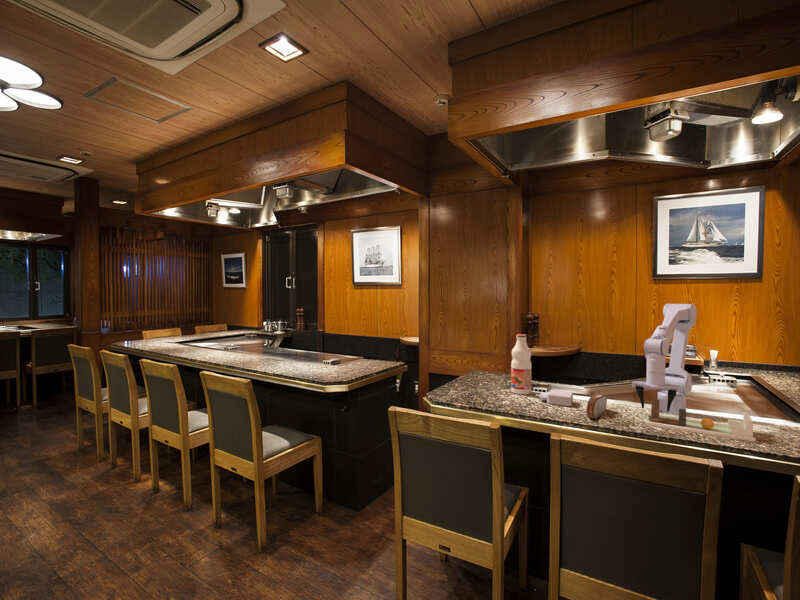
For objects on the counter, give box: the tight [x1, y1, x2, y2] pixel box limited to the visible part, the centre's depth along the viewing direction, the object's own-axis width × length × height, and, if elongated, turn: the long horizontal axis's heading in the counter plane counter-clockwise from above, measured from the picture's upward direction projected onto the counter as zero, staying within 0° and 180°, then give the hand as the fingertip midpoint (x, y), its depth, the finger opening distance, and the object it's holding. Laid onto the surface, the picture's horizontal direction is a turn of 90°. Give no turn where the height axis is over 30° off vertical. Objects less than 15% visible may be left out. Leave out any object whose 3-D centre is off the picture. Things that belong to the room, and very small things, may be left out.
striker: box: [649, 398, 687, 426], centre depth 143 cm, size 11×4×7 cm, turn 56°
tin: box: [586, 392, 608, 420], centre depth 155 cm, size 15×3×8 cm, turn 134°
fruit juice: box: [510, 333, 532, 395], centre depth 192 cm, size 9×9×28 cm
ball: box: [701, 417, 715, 429], centre depth 136 cm, size 4×4×4 cm
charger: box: [535, 389, 574, 408], centre depth 176 cm, size 5×9×15 cm
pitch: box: [644, 412, 756, 443], centre depth 138 cm, size 30×13×8 cm, turn 56°
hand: (655, 409), depth 145 cm, fingers open, 7 cm apart
